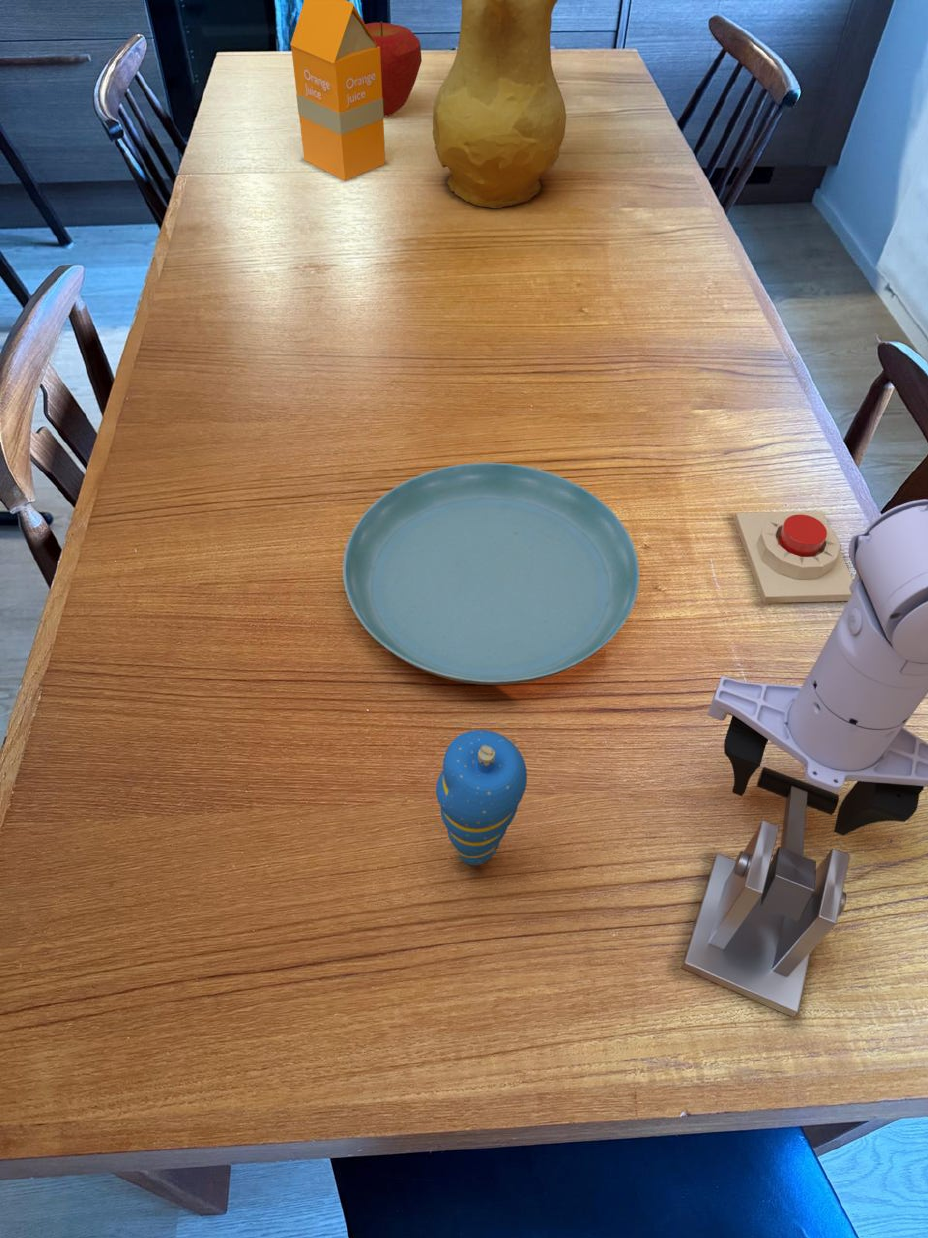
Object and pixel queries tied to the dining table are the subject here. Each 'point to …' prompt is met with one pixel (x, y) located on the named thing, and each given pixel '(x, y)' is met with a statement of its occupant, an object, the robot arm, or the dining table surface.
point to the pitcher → (500, 103)
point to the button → (802, 535)
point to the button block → (792, 561)
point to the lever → (793, 844)
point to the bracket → (761, 926)
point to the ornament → (480, 792)
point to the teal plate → (491, 573)
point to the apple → (396, 63)
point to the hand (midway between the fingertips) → (790, 802)
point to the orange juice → (338, 89)
